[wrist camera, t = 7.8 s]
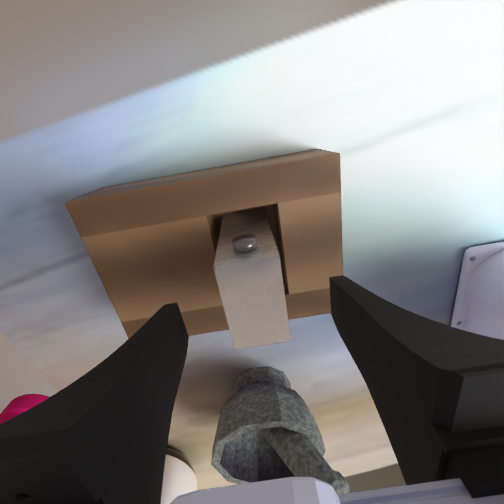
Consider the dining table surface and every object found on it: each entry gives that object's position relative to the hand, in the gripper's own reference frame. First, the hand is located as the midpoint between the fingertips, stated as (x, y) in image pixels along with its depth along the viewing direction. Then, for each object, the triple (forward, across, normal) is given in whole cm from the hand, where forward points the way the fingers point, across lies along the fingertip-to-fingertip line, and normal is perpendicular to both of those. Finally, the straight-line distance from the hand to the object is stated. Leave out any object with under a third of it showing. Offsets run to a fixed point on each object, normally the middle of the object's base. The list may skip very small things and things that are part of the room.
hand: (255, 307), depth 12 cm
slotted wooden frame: (+10, +2, 0) cm, 10 cm away
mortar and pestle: (+10, +1, +18) cm, 20 cm away
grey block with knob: (+8, 0, 0) cm, 8 cm away
